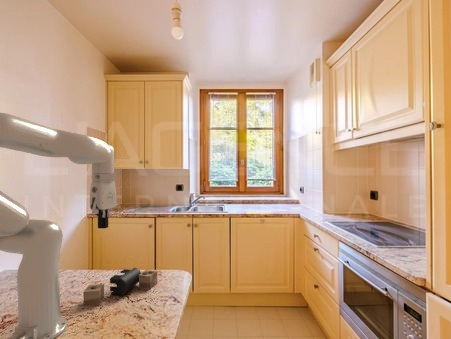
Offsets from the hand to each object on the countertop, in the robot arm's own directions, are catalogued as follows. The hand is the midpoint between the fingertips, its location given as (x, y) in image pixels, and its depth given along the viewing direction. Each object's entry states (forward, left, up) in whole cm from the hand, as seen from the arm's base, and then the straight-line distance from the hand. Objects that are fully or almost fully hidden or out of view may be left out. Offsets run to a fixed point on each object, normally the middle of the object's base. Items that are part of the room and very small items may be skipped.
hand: (103, 227), depth 94 cm
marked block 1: (-7, 0, -24) cm, 25 cm away
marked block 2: (+6, -14, -24) cm, 29 cm away
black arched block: (+2, -7, -24) cm, 26 cm away
